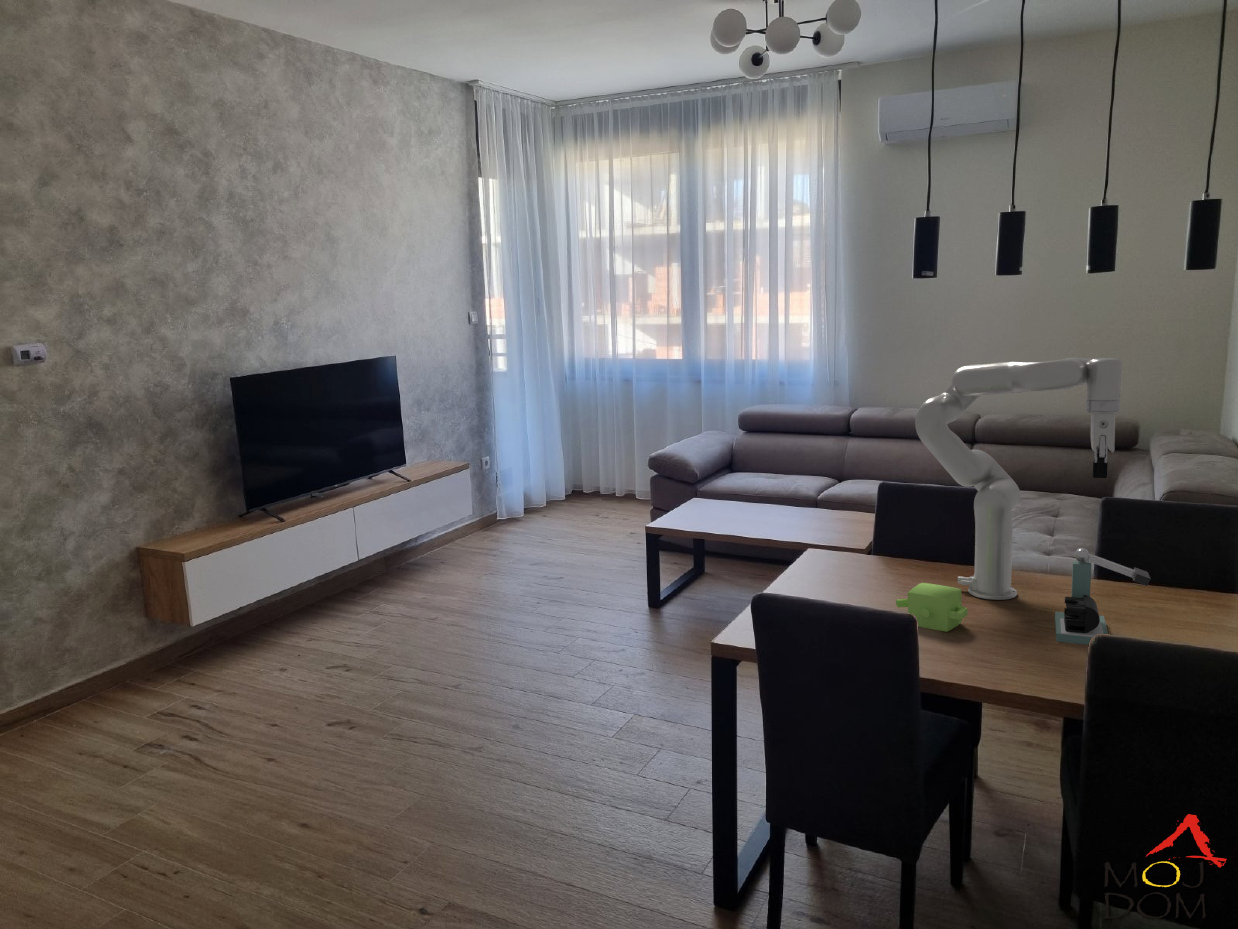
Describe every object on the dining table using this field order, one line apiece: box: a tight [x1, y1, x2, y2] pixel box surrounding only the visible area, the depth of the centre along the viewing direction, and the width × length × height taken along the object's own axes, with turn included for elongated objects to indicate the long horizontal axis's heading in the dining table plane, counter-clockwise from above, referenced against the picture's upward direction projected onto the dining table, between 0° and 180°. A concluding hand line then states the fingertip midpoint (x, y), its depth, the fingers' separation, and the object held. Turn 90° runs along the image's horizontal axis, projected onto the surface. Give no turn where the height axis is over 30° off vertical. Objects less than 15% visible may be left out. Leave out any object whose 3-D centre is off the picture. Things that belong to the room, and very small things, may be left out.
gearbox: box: [895, 582, 969, 633], centre depth 225 cm, size 18×10×10 cm, turn 46°
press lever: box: [1074, 547, 1151, 587], centre depth 216 cm, size 16×6×3 cm, turn 65°
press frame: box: [1054, 560, 1109, 646], centre depth 215 cm, size 11×17×16 cm, turn 155°
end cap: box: [1063, 595, 1100, 633], centre depth 212 cm, size 10×7×7 cm
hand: (1099, 477), depth 227 cm, fingers closed
